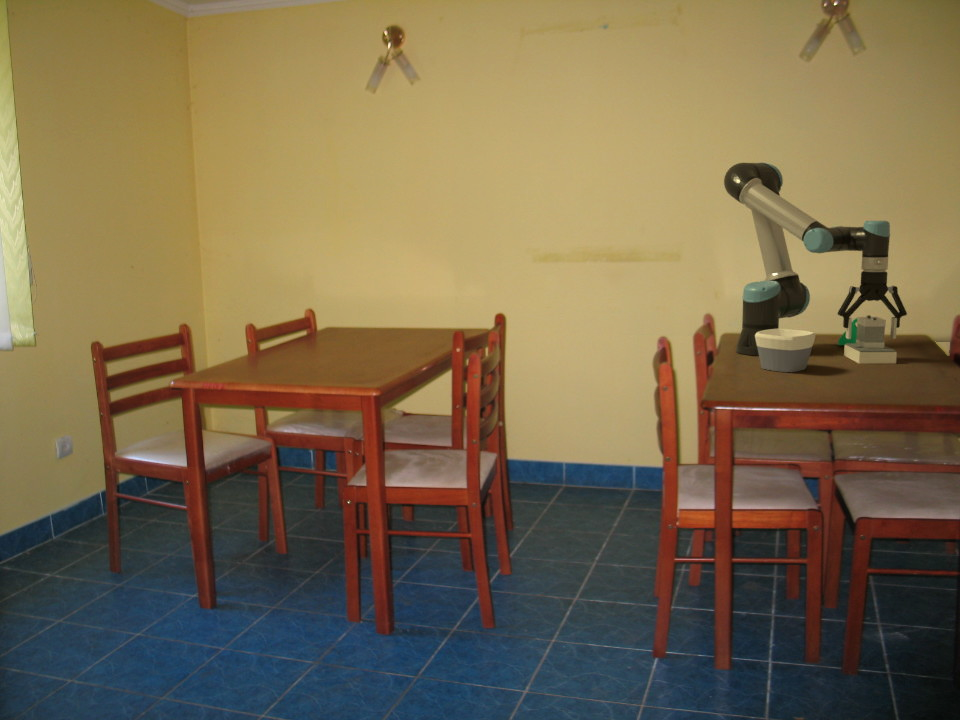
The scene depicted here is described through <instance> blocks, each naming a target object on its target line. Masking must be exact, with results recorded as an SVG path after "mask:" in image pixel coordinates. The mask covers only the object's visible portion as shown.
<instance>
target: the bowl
mask: <svg viewBox="0 0 960 720" xmlns="http://www.w3.org/2000/svg"><path fill="white" fill-rule="evenodd" d="M815 338H816V333H815V332H814V331H813V332H812V331H808V330H801V329H790V328H779V329H770V330H763V331H759V332H757V333H756V334H755V339H756V344H757V348H758V353H759V356H758V357H759V362H760V367H761V369H763V370H765V369H766V371H770V370H771V371H772V372H777V371H778V373H787V372H790V373H795V372H801V370H802V371H804V370H806V369H807V366H808V362H809V360H810V356H811V352H812V349H813V347H814V346H813V345H814V342H815V340H816V339H815ZM771 371H770V372H771Z"/></svg>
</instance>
